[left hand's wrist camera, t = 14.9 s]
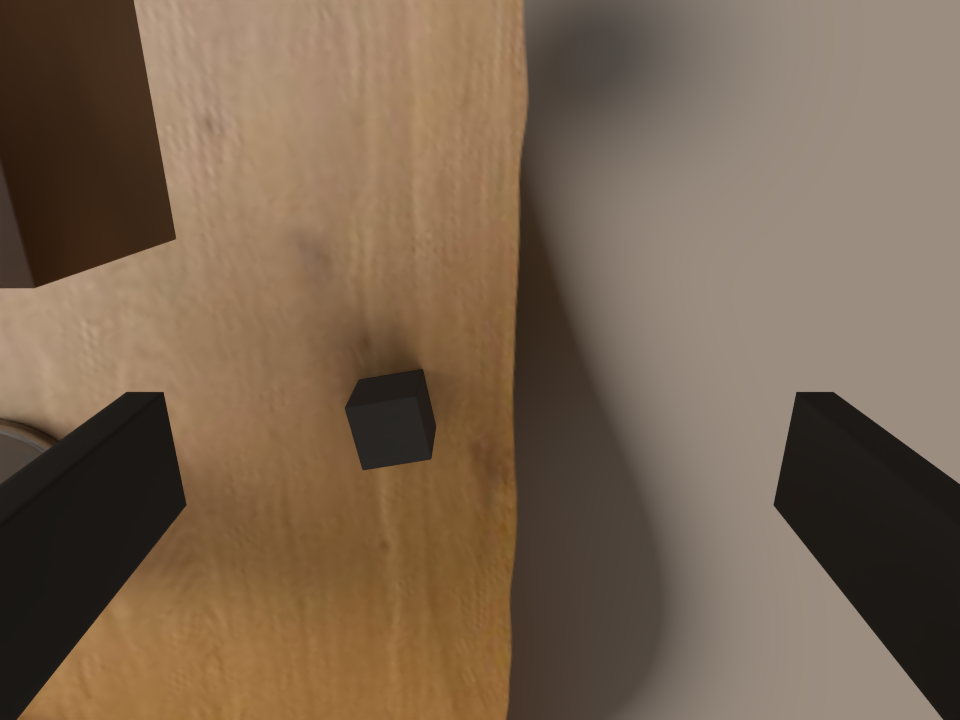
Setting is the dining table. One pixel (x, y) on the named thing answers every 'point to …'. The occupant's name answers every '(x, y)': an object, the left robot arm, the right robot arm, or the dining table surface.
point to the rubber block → (392, 419)
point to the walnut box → (75, 141)
